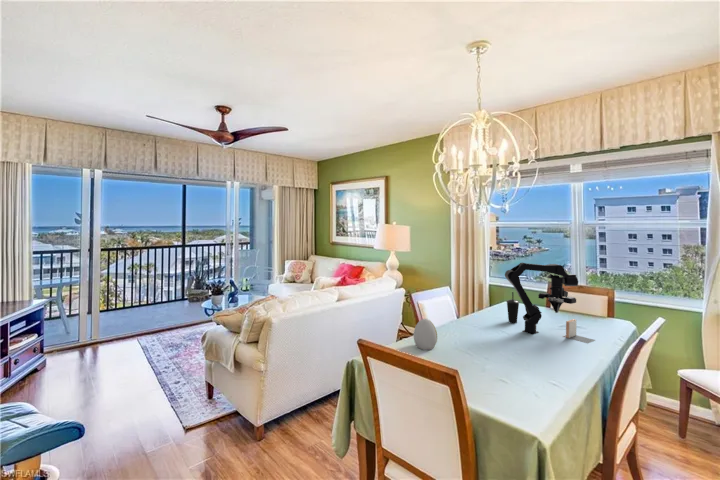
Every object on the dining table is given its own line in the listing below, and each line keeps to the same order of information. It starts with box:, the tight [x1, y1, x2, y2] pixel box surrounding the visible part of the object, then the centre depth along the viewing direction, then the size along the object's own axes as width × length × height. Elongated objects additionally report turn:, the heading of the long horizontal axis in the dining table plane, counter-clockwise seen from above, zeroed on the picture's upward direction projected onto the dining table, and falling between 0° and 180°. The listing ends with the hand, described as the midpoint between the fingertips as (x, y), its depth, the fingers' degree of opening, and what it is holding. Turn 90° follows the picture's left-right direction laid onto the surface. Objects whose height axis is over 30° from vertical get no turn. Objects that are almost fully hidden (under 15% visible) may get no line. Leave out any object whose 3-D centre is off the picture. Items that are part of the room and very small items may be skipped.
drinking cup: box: [506, 291, 520, 324], centre depth 215 cm, size 8×8×20 cm
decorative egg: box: [413, 318, 438, 351], centre depth 174 cm, size 12×12×15 cm
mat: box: [562, 334, 596, 344], centre depth 182 cm, size 9×13×1 cm
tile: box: [565, 318, 577, 339], centre depth 185 cm, size 8×2×9 cm, turn 122°
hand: (556, 312), depth 192 cm, fingers closed
